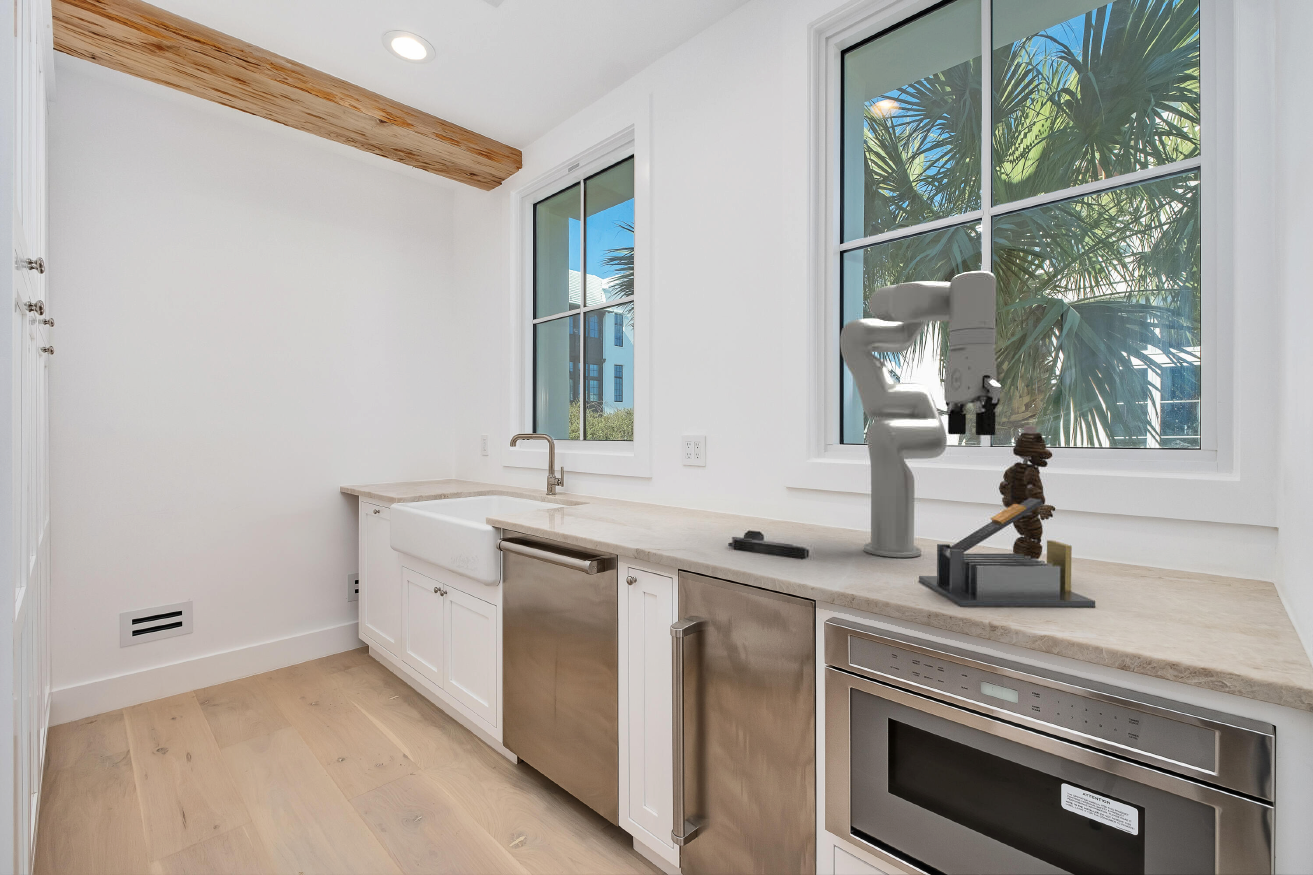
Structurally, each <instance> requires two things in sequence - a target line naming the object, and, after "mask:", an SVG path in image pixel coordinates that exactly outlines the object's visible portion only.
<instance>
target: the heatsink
mask: <svg viewBox="0 0 1313 875" xmlns="http://www.w3.org/2000/svg"><path fill="white" fill-rule="evenodd" d="M949 547H951V544H949V543H937V545H936V548H937V549H936V557H937V558H936V575H919V576H918V582H920V583H921V584H923V585H925V586H927V587H928V588H930V589H931V590H933V591H934V592H936V593H938V594H939V595H941V596H942V597H944V598H946V599H948V600H949V601H951V602H953V603H955V604H956V605H958V606H960V607H961V608H962V607H964V606H966V607H967V606H970V607H972V606H974V607H975V606H1008V607H1007V608H1010V607H1011V606H1015V607H1014V608H1016V607H1017V606H1020V607H1019V608H1022V607H1023V608H1028V607H1029V608H1030V607H1031V608H1036V607H1037V608H1039V607H1040V608H1045V607H1046V608H1096V600H1094V599H1091V598H1089V597H1086V596H1084V595H1081V594H1079V593H1077V592H1075V591H1072V548H1073V547H1072V545H1070V544H1067V543H1063V542H1060V541H1056V540H1052V539H1049V540H1047V539H1046V561H1044V560H1039V559H1037V558H1031V556H1024V554H1022V553H1013V552H1011V553H1010V552H1009V553H1007V552H1006V553H1005V552H1003V553H1002V552H1001V553H1000V552H998V553H996V552H995V553H994V552H993V553H992V552H991V553H989V552H988V553H987V552H985V553H984V552H983V553H982V552H979V553H978V552H975V553H974V552H964V550H950V558H949V557H946V556H944V555H943V554H942V553H941V551H942V549H943V548H947V549H948V548H949ZM966 607H965V608H966ZM967 608H968V607H967ZM972 608H973V607H972ZM975 608H976V607H975ZM1011 608H1012V607H1011ZM1017 608H1018V607H1017Z"/></svg>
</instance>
